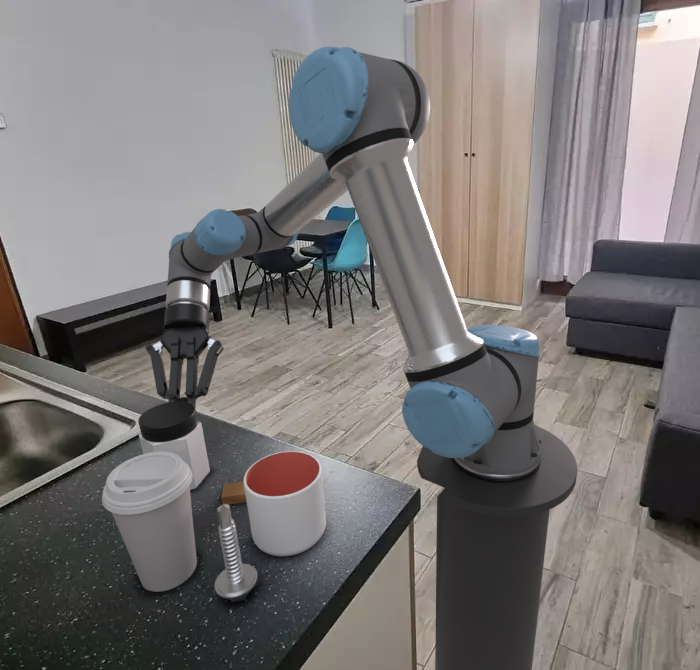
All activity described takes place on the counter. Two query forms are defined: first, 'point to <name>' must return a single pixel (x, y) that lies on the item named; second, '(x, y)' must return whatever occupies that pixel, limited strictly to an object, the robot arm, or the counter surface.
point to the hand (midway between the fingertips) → (180, 437)
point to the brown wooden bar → (233, 493)
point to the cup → (285, 502)
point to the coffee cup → (154, 517)
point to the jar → (176, 436)
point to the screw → (232, 562)
